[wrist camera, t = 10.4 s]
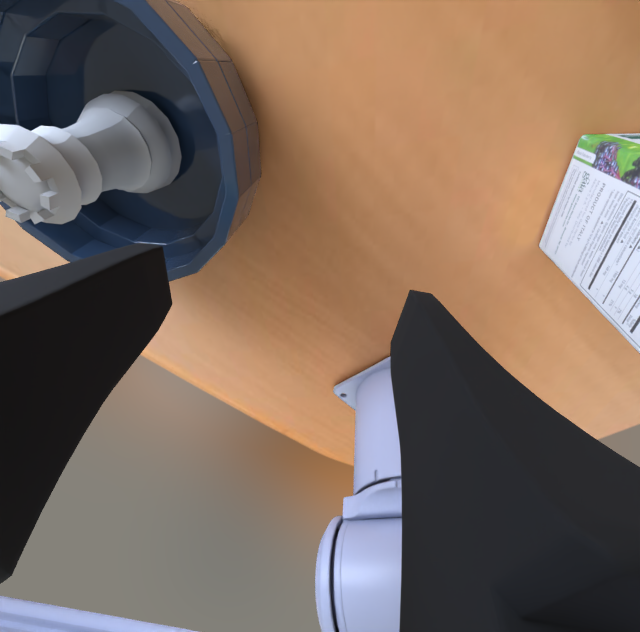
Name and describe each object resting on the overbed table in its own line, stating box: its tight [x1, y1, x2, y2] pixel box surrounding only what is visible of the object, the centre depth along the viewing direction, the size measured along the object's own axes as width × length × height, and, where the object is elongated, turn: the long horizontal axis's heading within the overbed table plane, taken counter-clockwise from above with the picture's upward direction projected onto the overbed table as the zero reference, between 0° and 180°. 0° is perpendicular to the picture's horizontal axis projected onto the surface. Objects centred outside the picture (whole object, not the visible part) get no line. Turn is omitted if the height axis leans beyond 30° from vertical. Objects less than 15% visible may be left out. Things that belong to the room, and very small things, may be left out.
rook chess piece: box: [0, 91, 182, 224], centre depth 14 cm, size 4×4×8 cm
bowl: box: [0, 0, 261, 281], centre depth 16 cm, size 12×12×4 cm
